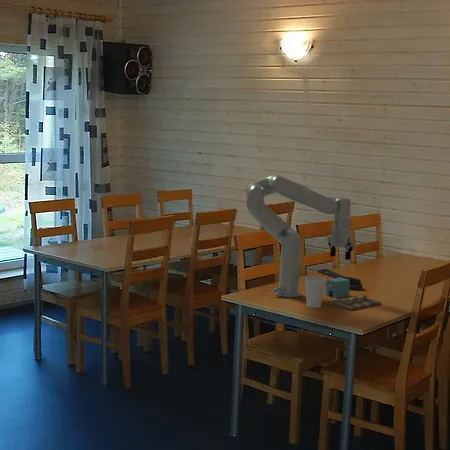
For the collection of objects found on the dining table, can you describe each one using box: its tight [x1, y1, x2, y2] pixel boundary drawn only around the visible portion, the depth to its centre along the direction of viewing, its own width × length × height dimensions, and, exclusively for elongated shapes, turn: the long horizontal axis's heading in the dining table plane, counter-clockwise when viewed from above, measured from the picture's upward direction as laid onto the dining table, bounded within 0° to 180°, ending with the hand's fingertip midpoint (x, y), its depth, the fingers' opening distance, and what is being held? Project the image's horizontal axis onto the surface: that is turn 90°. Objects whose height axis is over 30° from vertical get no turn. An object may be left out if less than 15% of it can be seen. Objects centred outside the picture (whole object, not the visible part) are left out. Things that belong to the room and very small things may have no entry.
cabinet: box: [325, 277, 350, 299], centre depth 351 cm, size 11×6×8 cm, turn 129°
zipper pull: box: [317, 268, 363, 291], centre depth 373 cm, size 9×7×25 cm
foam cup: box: [304, 275, 326, 309], centre depth 329 cm, size 10×9×13 cm
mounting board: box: [326, 294, 382, 312], centre depth 335 cm, size 22×14×3 cm, turn 129°
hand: (340, 257), depth 349 cm, fingers open, 9 cm apart
